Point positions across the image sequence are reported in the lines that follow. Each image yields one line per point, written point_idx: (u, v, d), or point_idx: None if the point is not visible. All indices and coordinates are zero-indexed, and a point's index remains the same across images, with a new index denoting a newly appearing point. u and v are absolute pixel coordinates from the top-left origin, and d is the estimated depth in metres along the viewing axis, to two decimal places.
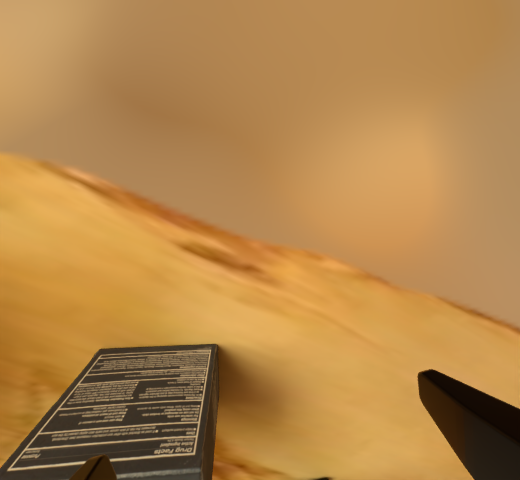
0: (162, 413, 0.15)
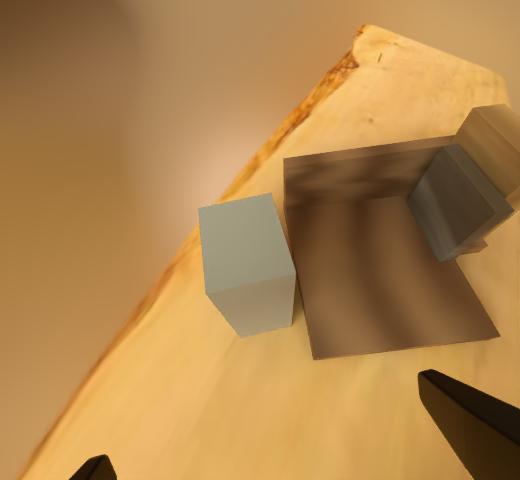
0: None
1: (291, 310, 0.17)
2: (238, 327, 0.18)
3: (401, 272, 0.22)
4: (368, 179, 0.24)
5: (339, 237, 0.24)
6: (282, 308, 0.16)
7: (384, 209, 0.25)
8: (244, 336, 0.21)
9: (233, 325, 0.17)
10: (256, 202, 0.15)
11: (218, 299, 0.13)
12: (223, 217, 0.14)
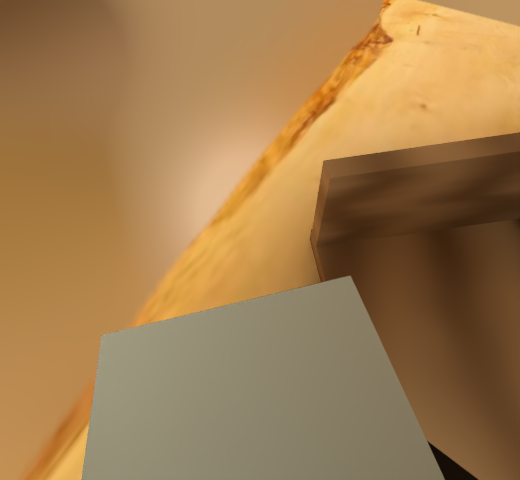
0: None
1: None
2: None
3: None
4: (469, 197, 0.13)
5: (417, 299, 0.14)
6: None
7: (484, 244, 0.15)
8: None
9: None
10: (305, 316, 0.04)
11: None
12: (184, 387, 0.04)
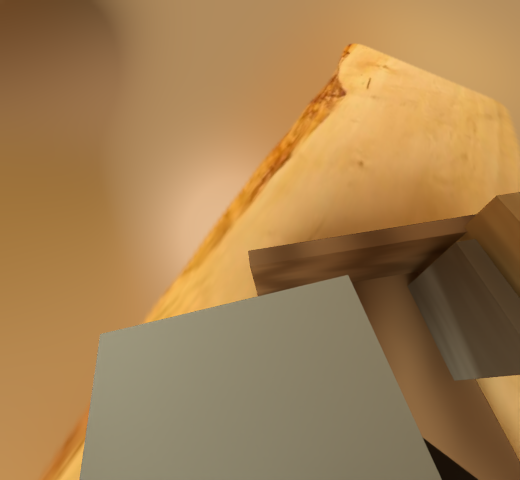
0: None
1: None
2: None
3: (406, 398, 0.16)
4: (359, 266, 0.19)
5: None
6: None
7: (380, 295, 0.20)
8: None
9: None
10: (303, 315, 0.04)
11: None
12: (182, 386, 0.04)
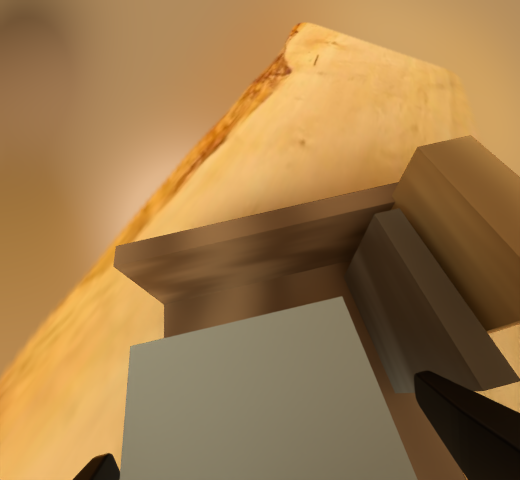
0: None
1: None
2: None
3: None
4: (275, 257, 0.15)
5: None
6: None
7: (311, 290, 0.17)
8: None
9: None
10: (303, 332, 0.05)
11: None
12: (202, 391, 0.04)
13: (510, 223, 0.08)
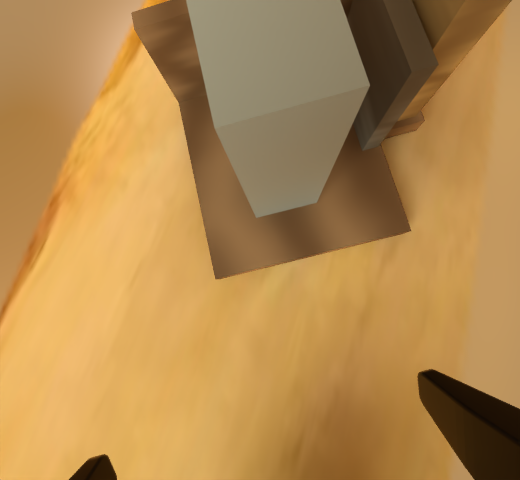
0: None
1: (326, 176, 0.13)
2: (256, 202, 0.14)
3: None
4: None
5: None
6: (317, 172, 0.12)
7: None
8: (260, 215, 0.18)
9: (250, 198, 0.14)
10: None
11: (234, 145, 0.08)
12: None
13: None
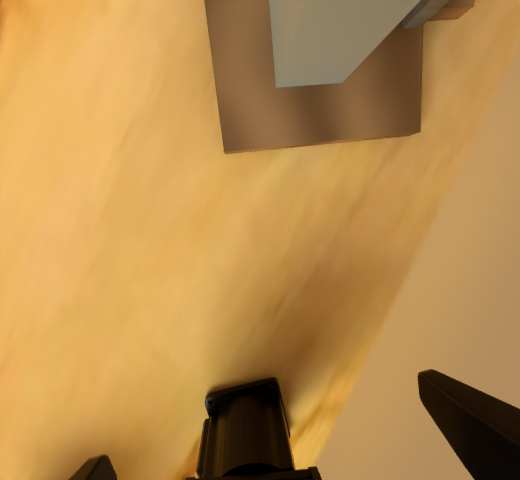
0: None
1: (381, 39, 0.12)
2: (293, 58, 0.13)
3: None
4: None
5: None
6: (379, 27, 0.11)
7: None
8: (282, 85, 0.16)
9: (292, 49, 0.12)
10: None
11: None
12: None
13: None
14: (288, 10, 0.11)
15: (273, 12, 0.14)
